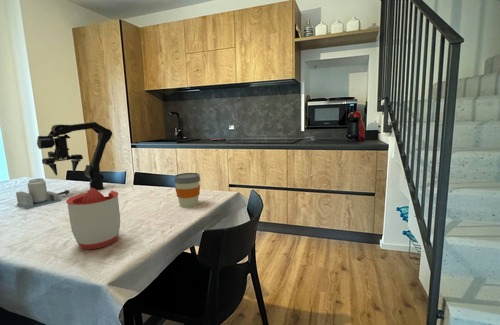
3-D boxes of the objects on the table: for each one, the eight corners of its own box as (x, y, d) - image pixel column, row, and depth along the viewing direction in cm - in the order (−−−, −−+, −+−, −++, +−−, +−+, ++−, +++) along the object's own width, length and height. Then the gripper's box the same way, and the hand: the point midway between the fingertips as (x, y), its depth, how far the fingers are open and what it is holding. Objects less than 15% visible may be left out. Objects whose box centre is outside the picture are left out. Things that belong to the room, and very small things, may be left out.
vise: (64, 194, 159) (62, 182, 157) (75, 197, 152) (73, 185, 151) (16, 205, 140) (14, 192, 139) (27, 209, 133) (24, 195, 132)
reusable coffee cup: (195, 209, 127) (193, 178, 124) (171, 208, 129) (169, 177, 127) (205, 201, 139) (203, 172, 136) (182, 200, 141) (180, 172, 139)
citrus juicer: (132, 230, 105) (126, 180, 101) (111, 252, 87) (103, 193, 84) (91, 231, 104) (85, 182, 101) (62, 254, 87) (53, 195, 84)
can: (51, 200, 144) (47, 178, 142) (34, 204, 138) (30, 181, 136) (44, 198, 148) (40, 177, 146) (28, 202, 141) (24, 180, 139)
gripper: (72, 144, 163) (75, 169, 166) (35, 148, 147) (40, 175, 150) (81, 145, 157) (85, 171, 160) (44, 149, 142) (49, 177, 144)
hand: (65, 173), depth 154 cm, fingers open, 9 cm apart
